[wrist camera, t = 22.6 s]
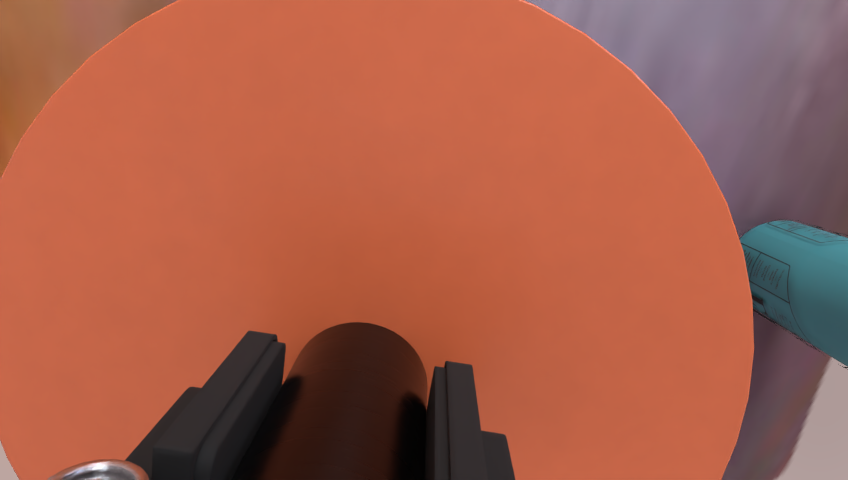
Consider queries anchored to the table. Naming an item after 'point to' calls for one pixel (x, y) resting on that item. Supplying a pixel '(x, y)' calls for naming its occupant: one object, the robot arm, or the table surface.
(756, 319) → the table surface
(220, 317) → the lid
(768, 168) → the table surface
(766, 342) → the table surface
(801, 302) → the beverage bottle
